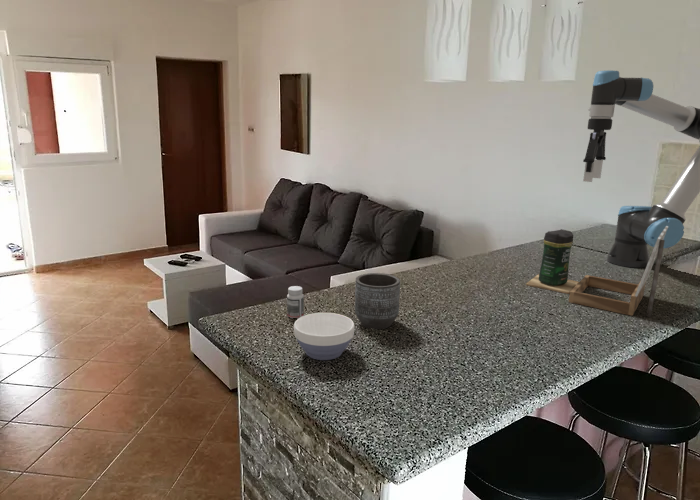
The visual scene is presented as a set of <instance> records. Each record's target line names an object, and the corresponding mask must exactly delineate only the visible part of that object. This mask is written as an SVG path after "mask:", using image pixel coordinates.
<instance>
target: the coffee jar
mask: <svg viewBox="0 0 700 500" xmlns="http://www.w3.org/2000/svg"><path fill="white" fill-rule="evenodd" d="M573 243H574V233H573V232H572V231H570V230H566V229H563V228H560V229H556V230H548V231H547V232H545V233H544V237H543V253H542V258H541V263H540V269H539V273H538V274H539V281H540V282H542V283H543V284H546V285H554V286H557V285H562V284H565V283H566V282H567V280H569V279H568V277H569V269H570V267H569V265H570V256H571V249H572V245H573Z"/></svg>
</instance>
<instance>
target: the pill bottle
mask: <svg viewBox="0 0 700 500" xmlns="http://www.w3.org/2000/svg"><path fill="white" fill-rule="evenodd" d="M287 293H288V294H287V295H286V314H287V317H288V318H289V317H290V319H293V318H297V319H299V318H300V317H302V316H305V306H304V305H305V303H304V301H305V297H304V294H303V287H302V286H300V285H299V286H298V285H292V286H289V287H288V289H287Z"/></svg>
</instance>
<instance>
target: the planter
mask: <svg viewBox="0 0 700 500" xmlns="http://www.w3.org/2000/svg"><path fill="white" fill-rule="evenodd" d="M354 287H355V290H354V313H355V315H356V317H357V319H358V321H359V322H360V324H361V325H362V326H363V327H364V328H367V327H368V328H367V329H370V328H372V329H371V330H384V328H385V329H387V328H389V327H391V326H392V325H393V323H394V322H395V320H396V319H397V317H398V316H399V314H400V296H401V295H400V293H401V280H400V278H399V277H397V276H395V275H392V274H388V273H383V272H382V273H380V272H369V273H364V274H360V275H358V276H356V278H355V286H354Z"/></svg>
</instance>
